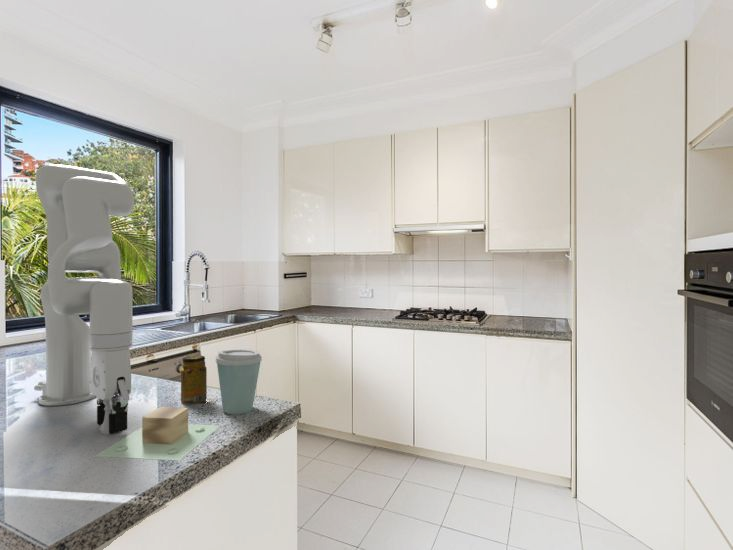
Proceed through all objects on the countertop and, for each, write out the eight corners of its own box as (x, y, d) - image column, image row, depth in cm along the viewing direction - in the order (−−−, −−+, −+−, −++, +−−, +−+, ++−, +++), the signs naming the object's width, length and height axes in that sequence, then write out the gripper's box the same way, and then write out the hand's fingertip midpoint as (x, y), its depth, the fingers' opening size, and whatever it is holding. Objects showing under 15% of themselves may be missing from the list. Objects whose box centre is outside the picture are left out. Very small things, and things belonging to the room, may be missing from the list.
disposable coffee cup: (235, 403, 105) (235, 344, 104) (270, 408, 101) (271, 348, 101) (204, 417, 95) (205, 352, 95) (242, 424, 91) (243, 356, 91)
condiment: (184, 399, 107) (184, 354, 107) (218, 399, 108) (218, 353, 108) (174, 409, 100) (174, 360, 100) (210, 408, 101) (210, 360, 101)
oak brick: (142, 443, 79) (142, 417, 79) (160, 430, 85) (160, 406, 85) (171, 444, 78) (171, 418, 78) (188, 431, 84) (188, 407, 84)
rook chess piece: (102, 431, 86) (102, 393, 86) (126, 428, 88) (126, 391, 88) (96, 440, 82) (96, 400, 82) (122, 437, 84) (122, 398, 83)
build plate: (94, 460, 73) (94, 454, 73) (149, 425, 89) (149, 420, 89) (179, 465, 72) (179, 458, 72) (220, 429, 88) (220, 424, 88)
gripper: (77, 338, 87) (77, 422, 87) (105, 349, 76) (106, 445, 76) (116, 334, 93) (116, 412, 93) (148, 343, 82) (148, 433, 82)
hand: (111, 426), depth 85 cm, fingers open, 6 cm apart
